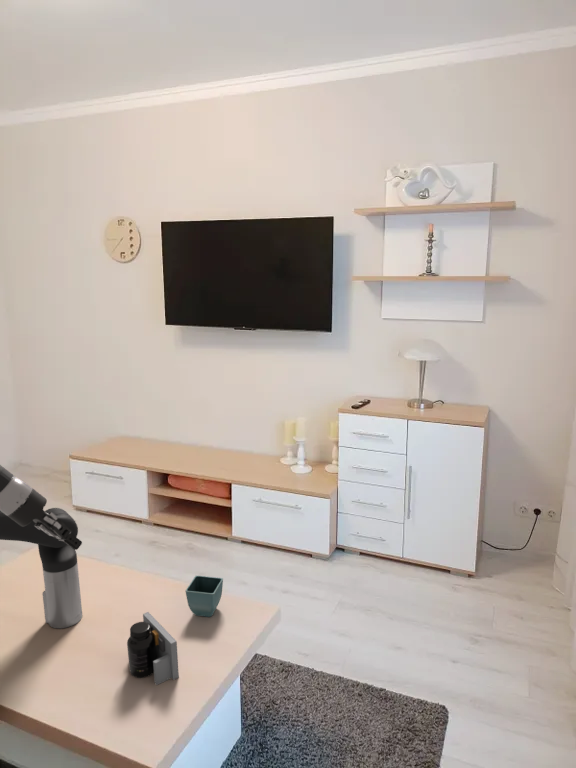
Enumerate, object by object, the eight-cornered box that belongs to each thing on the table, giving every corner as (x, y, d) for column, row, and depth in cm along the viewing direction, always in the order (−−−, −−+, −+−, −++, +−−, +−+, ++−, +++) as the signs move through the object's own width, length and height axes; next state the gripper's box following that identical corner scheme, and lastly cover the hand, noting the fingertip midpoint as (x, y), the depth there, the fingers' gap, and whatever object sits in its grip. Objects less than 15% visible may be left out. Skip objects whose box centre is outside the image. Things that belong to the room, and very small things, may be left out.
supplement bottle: (132, 661, 146) (129, 619, 144) (159, 659, 147) (156, 618, 144) (126, 679, 139) (123, 636, 137) (154, 678, 140) (151, 634, 137)
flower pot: (215, 622, 162) (214, 593, 160) (186, 619, 164) (184, 590, 162) (224, 605, 170) (223, 577, 169) (196, 602, 172) (195, 575, 171)
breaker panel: (158, 687, 137) (155, 650, 135) (131, 654, 149) (128, 619, 147) (178, 677, 140) (176, 641, 138) (150, 645, 152) (148, 611, 150)
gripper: (-1, 514, 128) (59, 558, 134) (13, 515, 118) (77, 562, 124) (23, 487, 132) (80, 531, 138) (38, 486, 122) (99, 533, 128)
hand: (78, 546), depth 131 cm, fingers closed
